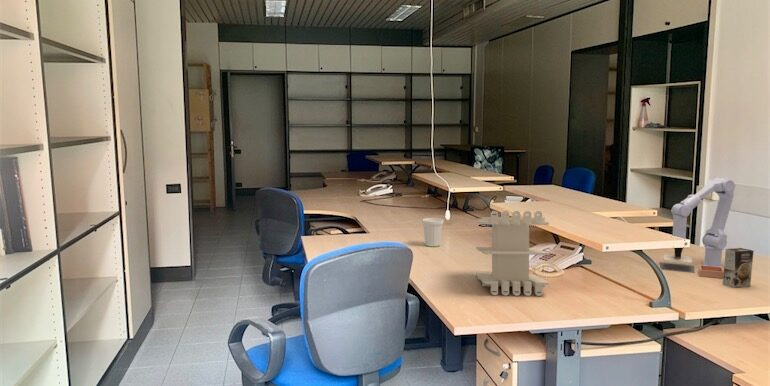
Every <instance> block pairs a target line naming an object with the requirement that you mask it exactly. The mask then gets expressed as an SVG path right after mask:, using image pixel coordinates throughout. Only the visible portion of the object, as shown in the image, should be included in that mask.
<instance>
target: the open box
mask: <svg viewBox="0 0 770 386" xmlns="http://www.w3.org/2000/svg"><path fill="white" fill-rule="evenodd" d="M697 268H698V270H697V272H698V276H699V278H700V277H702V278H710V279H717V280H718V279H719V280H723V274H724V266H722V267H715V266H705V265H703V264H698V267H697Z"/></svg>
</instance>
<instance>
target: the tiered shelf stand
mask: <svg viewBox="0 0 770 386" xmlns="http://www.w3.org/2000/svg"><path fill="white" fill-rule="evenodd" d="M500 214H501V216H499V212H498V211H497V210H492V211H491V212H490V216H486V217H485V216H482V217H481V218H477V220H476V224H480V225H491V247H490V246H488V247H487V246H476V247H475V248H476V249H475V250H477V251H478V252H481V253H482V254H484V255H491V273H475V277H476V278H477V280H479V281H481V287H490V293H491V295H493V296H497V295H498V294H499V287H500V290H501V291H500V292H501V295H503V296H509V294H510V287H512V289H511V291H512V295H514V296H516V297H517V296H520V295H521V287H522V290H523V292H522V293H523V294H524V295H525V296H526V297H530V296H531V295H532V288H533V289H534V291H533V293H534V295H536V296H537V297H541V296H542V295H543V288H545V287H546V286H549V285H550V282H549V281H548V280H545V279H543V278H542V277H540V276H538V275H535V274H532V273H530V255H532V256H533V255H534V256H535V255H536V256H538V255H539V256H543V255H544V256H547V255H548V256H549V255H550V252H548V251H545V250H542V249H538V248H534V247H530V226H531V225H534V226H535V225H536V226H542V225H543V226H549V225H550V222H546V220H545V219H546V218H545V217H543V213H542V212H541V211H540V210H539V211H538V210H537V211H535V212H534V215H533V217H532V212H531V211H530V210H526V211H525V210H524V212H523V214H522V217H521V212H520V211H519V210H514V211H513V212H512V213H511V215H512V216H510V212H509V211H508V210H502V211H501V213H500Z"/></svg>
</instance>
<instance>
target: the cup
mask: <svg viewBox="0 0 770 386" xmlns="http://www.w3.org/2000/svg"><path fill="white" fill-rule="evenodd" d="M421 221H422V222H421V223H422V224H423V231H424V233H423V234H424V242H425V243H424V244H425V246H426V247H428V248H437V247H440V246H441V240H442V239H441V237H442V230H443V224H444V221H445V220H444V219H443V218H439V217H427V218H425V217H424V218H423V219H422V220H421Z"/></svg>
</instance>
